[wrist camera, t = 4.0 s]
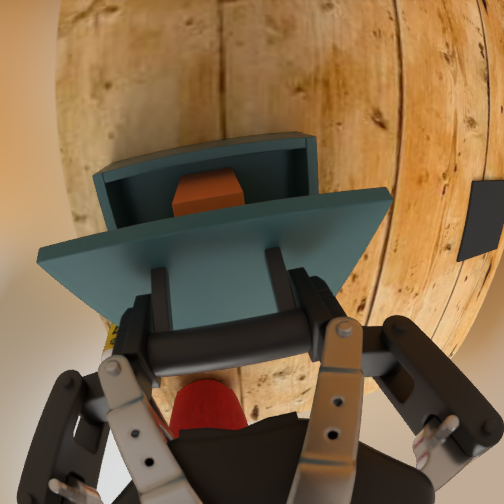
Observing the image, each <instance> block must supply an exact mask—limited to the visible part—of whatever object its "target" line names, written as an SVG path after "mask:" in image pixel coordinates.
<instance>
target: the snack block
mask: <svg viewBox="0 0 504 504" xmlns="http://www.w3.org/2000/svg"><path fill="white" fill-rule="evenodd" d="M240 205H245V203H244V195H243V191H242V189H241V186H240V184H239V182H238V180H237V178H236V176H235V174H234V172H233V170H232V168H231V167H229V168H223V169H216V170H210V171H205V172H199V173H194V174H188V175H183V176H181V178H180V181H179V184H178V187H177V190H176V193H175V196H174V199H173V202H172V207H173V211H174V216H175V217H178V216H183V215H188V214H194V213H199V212H205V211H210V210H216V209H222V208H228V207H234V206H240Z"/></svg>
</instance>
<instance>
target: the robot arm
mask: <svg viewBox="0 0 504 504" xmlns="http://www.w3.org/2000/svg"><path fill="white" fill-rule="evenodd" d="M287 273H288V277H289V280H290V284H291V287H292V291H293V295H294V298H295V302H296V306H297V308H302V309H303V310H304V312H305V314H306V316H307V319H308V322H309V326H310V330H311V337H312V349H311V351H310V352H308V354H309V356H310V358H311V361H312V362H316V361H320V363H321V365H320V368H319V373H318V379H317V384H316V389H315V395H314V400H313V404H312V409H311V414H310V419H307V418H306V419H305V418H298V416H297V413H296V411H295V412H291V413H287V414H282V415H278V416H273V417H268V418H265V419H263V420H261V421H258V422H256V423H254V424H251V425H249V426H246V427H244V428H241V429H238V430H231V429H220V428H210V427H203V428H193V429H180V430H179V437H178V438H176V437H175V435H174V434H173V433H172V431H171V430H170V428H169V426H168V424H167V423H166V421H165V419H164V417H163V415H162V414H161V412H160V410H159V408H158V406H157V404H156V402H155V401H154V399H153V397H152V396H151V395H152V388H160V384H161V377H156V376H155V375H154V374H153V372H152V370H151V367H150V365H149V361H148V356H147V338H148V335H149V334H150V333H154V330H153V316H152V298H151V293H150V294H144V295H138V296H136V297H135V301H134V305H133V307H131V308H127V310H126V311H125V312H124V314H123V315H122V317H121V320H120V324H119V325H120V326H119V327H118V333H117V335H116V338H115V342H114V346H113V350H112V354H111V356H110V357H108V358H106V359H105V360H104V361H102V363H101V364H100V366H99V368H98V372H95V373H92V374H89V375H87V376H84V377H82V376H81V375H80V373H79V372H77V371H75V370H67V371H65V372H63V373H62V374H61V375H60V376H59V377H58V378H57V380H56V382H55V384H54V386H53V389H52V391H51V393H50V396H49V398H48V401H47V403H46V405H45V407H44V410H43V412H42V415H41V418H40V420H39V423H38V426H37V428H36V431H35V434H34V437H33V440H32V443H31V446H30V449H29V452H28V455H27V458H26V461H25V465H24V468H23V472H22V475H21V480H20V483H19V487H18V491H17V503H18V504H103V502H102V501H101V497H100V495H99V493H98V492H97V491H96V489H97V484H98V478H99V473H100V469H101V464H102V459H103V455H104V451H105V447H106V443H107V439H108V435H109V431H110V428H111V431H112V434H113V436H114V439H115V441H116V444H117V446H118V449H119V451H120V453H121V456H122V458H123V460H124V463H125V465H126V467H127V469H128V471H129V474H130V475H131V478H132V480H131V481H130V483H129V484H128V485H127V486H126V487H125V488H124V490H123V491H122V492H121V494H119V495H118V497H117V498H116V499H115V500H114V501H113V502H112V504H434V503H435V492H436V491H437V490H438V489H440V488H441V487H442V486H443V485H445V484H446V483H447V482H448V481H450V480H451V479H452V478H453V477H454V476H455V475H456V474H458V473H459V472H460V471H461V470H462V469H463V468H464V467H465V466H466V465H468V464H469V463H471V462H472V461H474V460H475V459H477V458H478V457H480V456H481V455H482V454H484V453H485V452H486V451H488V450H489V449H490V448H492V447H493V446H494V445H495V444H497V443H498V442H499V441H500V439H501V438H502V436H503V432H504V423H503V420H502V418H501V416H500V415H499V414H498V412H497V411H496V410H495V409H494V408H493V407H492V405H491V404H490V403H489V402H488V401H487V400H486V398H485V397H484V396H483V395H482V394H481V393H480V392H479V391H478V389H477V388H476V387H475V386H474V385H473V384H472V383H471V382H470V380H469V379H468V378H467V377H466V376H465V375H464V374H463V373H462V372H461V371H460V370H459V369H458V367H457V366H456V365H455V364H454V363H453V362H452V361H451V360H450V359H449V358H448V357H447V356H446V355H445V354H444V353H443V352H442V351H441V350H440V348H439V347H438V346H437V345H436V344H435V343H434V342H433V341H432V340H431V339H430V338H429V337H428V336H427V335H426V334H425V333H424V332H423V331H422V330H421V329H420V328H419V327H418V326H417V325H416V324H415V323H414V322H413V321H411V320H410V319H409V318H407V317H404V316H400V315H394V316H390V317H388V318H387V319H386V320H385V321H384V323H383V326H361V324H360V323H359V322H358V321H357V320H355V319H353V318H351V317H347V315H346V313H345V312H344V310H343V309H342V307H341V306H340V304H339V302H338V301H337V299H336V298H335V296H334V295H333V293H332V291H331V290H330V289H329V287H328V285H327V284H326V282H325V281H324V280H323V279H321V278H320V277H318V276H311V277H309V275H308V273H307V272H306V270H305V268H304V267H300V268H295V269H290V270H287ZM364 377H373V379H374V380H375V381H376V383H377V384H378V385H379V387H380V388H381V390H382V391H383V392H384V394H385V395H386V396H387V398H388V399H389V400H390V402H391V403H392V404H393V406H394V407H395V408H396V410H397V411H398V412H399V414H400V415H401V416H402V418H403V419H404V421H405V422H406V423H407V425H408V426H409V428H410V429H411V430H412V432H413V433H414V434H415V436H416V437H415V438H414V441H413V452H414V454H415V456H416V459H417V464H416V468H414V467H412V466H410V465H407V464H405V463H403V462H401V461H399V460H396V459H394V458H392V457H390V456H388V455H386V454H384V453H382V452H380V451H378V450H376V449H374V448H372V447H370V446H368V445H366V444H364V443H362V442H360V441H359V433H360V424H361V415H362V403H363V389H364ZM78 416H80V417H81V418H80V421H79V424H78V427H77V430H76V433H75V436H74V437H73V432H74V429H75V426H76V422H77V419H78Z"/></svg>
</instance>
